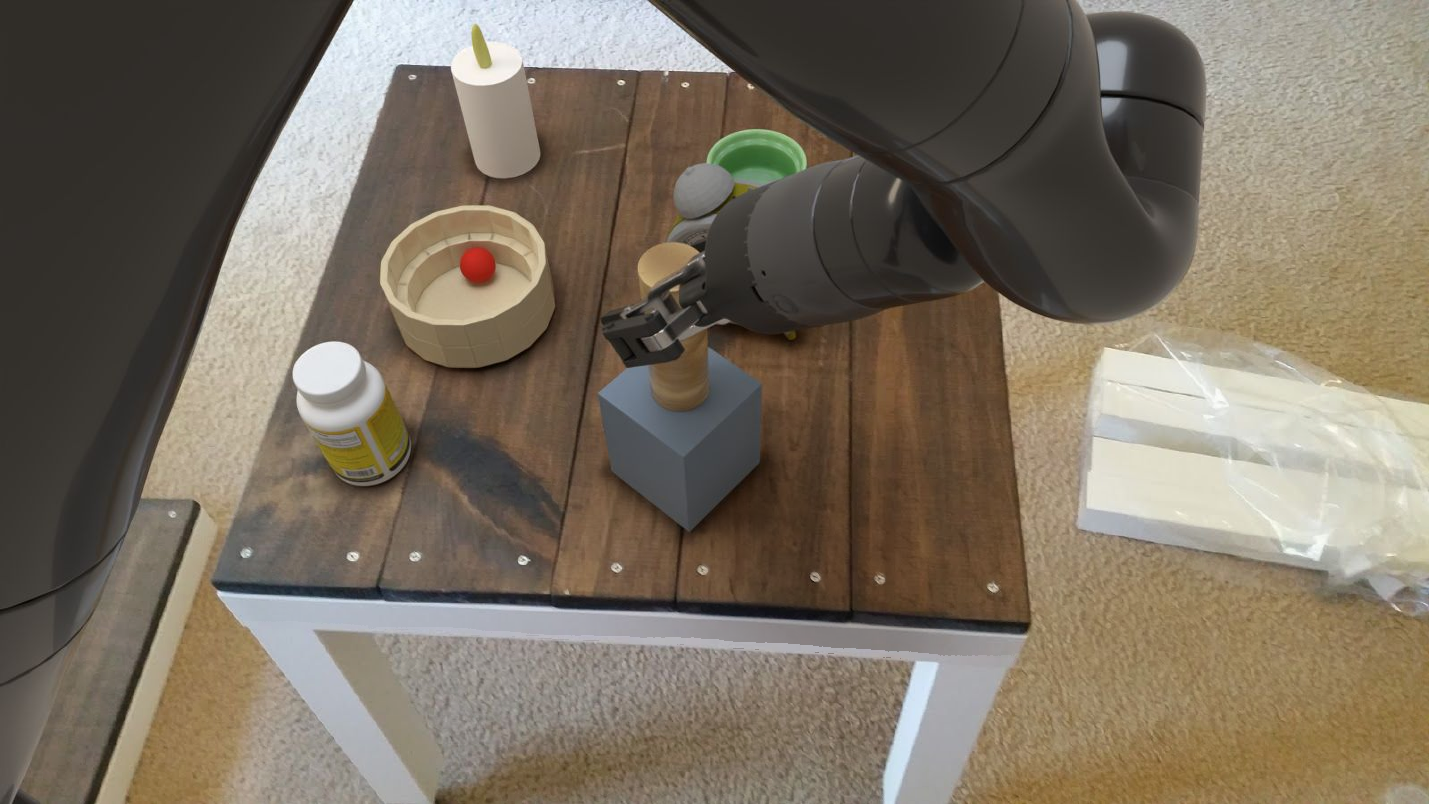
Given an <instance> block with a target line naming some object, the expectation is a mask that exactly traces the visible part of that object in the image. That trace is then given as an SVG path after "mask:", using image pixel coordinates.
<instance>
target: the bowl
mask: <svg viewBox="0 0 1429 804" xmlns="http://www.w3.org/2000/svg"><path fill="white" fill-rule="evenodd" d="M475 247H479V248H483V249H486V250H487V251H489V252H490V253H491V254H492V256H493V257H494V259H495V264H496V268H495V272H494V274H493V275H492V277H491V278H490V279H488V280H487V281H485V282H481V283H475V282H471V281H469V280H468V279H466V278H465V277H464V276H463V274H462V272H461V270H460V259H461V257H462V255H463V254H464V253H465V252H466V251H467V250H469V249H471V248H475ZM379 273H380V274H379V284H380V287H381V289H382V292H383V295H384V297H385V299H386V302H387V305H388V307H389V309H390V312H391V314H392V317H393V320H394V322H395V324H396V327H397V329H398V332H399V333H400V335H401V337H402V339H403V341H404V344H405V345H406V346H407V347H408V348H409V349H411V351H413V352H414V353H415V354H417V355H418V356H419V357H420V358H421V359H423V360H424V361H426V362H430V363H433V364H437V365H440V366H442V367H445V368H454V369H455V368H456V369H459V368H460V369H463V368H464V369H477V368H479V369H480V368H483V367H487V366H490V365H494V364H497V363H498V364H499V363H502V362H505V361H508V360H509V359H511V358H513V357H515V356H517V355H518V354H520V353H521V352H524V351H525V350H527V349H529V348H530V347H531V346H532V345H533V344H534V343H535V342H536V341H537V340H538V338H539V337H541V335H543V333H544V332H545V331H546V330H547V329H548V326H549V324H550V321H551V319H552V317H553V313H554V311H555V308H556V299H555V297H556V296H555V287H554V283H553V277H552V273H551V268H550V263H549V258H548V253H547V247H546V243H545V241H544V240H543V238H542V236H541V235H540V233H539V231H538V230H537V228H536V227H535V225H534V224H533V223H531V222H530V221H528V220H527V219H525V218H524V217H522V216H521V215H519V214H518V213H516V212H515V211H511V210H508V209H504V208H501V207H497V206H493V205H469V204H468V205H467V204H465V205H458V206H454V207H449V208H446V209H442V210H437V211H434V212H431V213H430V214H428V215H426V216H424V217H423V218H420V219H418V220H416V221H414V222H412V223H411V224H409V225H408V226H407V227H406V228H405V229H404V230H403V231H401V233H400V234H398V235H397V236H396V237H395V238H394V239H393V240H392V241H391V243H390V244H389V246H388V248H387V250H386V252H385V254H384V255H383V257H382V259H381V261H380V272H379Z"/></svg>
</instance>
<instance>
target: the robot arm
mask: <svg viewBox="0 0 1429 804" xmlns="http://www.w3.org/2000/svg"><path fill="white" fill-rule="evenodd" d="M354 1H355V0H0V804H44V803H43V802H41V801H40V800H39V799H37V798H36V797H34V796H33V795H31V794H29V793H28V792H26V791H25V790H23V789H22V788H21V787H20V786H21V785H22V782H23V780H24V779H25V776H26V774H27V771H28V769H29V767H30V764H31V762H32V760H33V757H34V755H35V753H36V750H37V748H38V745H39V743H40V741H41V738H42V736H43V733H44V731H45V729H46V727H47V725H48V722H49V719H50V716H51V713H52V711H53V709H54V705H55V703H56V700H57V698H58V695H59V692H60V691H61V687H62V685H63V683H64V680H65V678H66V675H67V673H68V670H69V668H70V666H71V663H72V660H73V658H74V656H75V654H76V651H77V650H78V647H79V644H80V642H81V640H82V638H83V636H84V633H85V631H86V629H87V627H88V625H89V623H90V621H91V619H92V617H93V616H94V613H95V612H96V610H97V608H98V605H99V604H100V602H101V600H102V597H103V594H104V591H105V588H106V585H107V583H108V581H109V579H110V576H111V573H112V572H113V569H114V566H115V564H116V561H117V559H118V556H119V554H120V551H121V549H122V546H123V544H124V541H125V539H126V536H127V534H128V531H129V529H130V527H131V523H132V522H133V520H134V518H135V515H136V513H137V510H138V507H139V504H140V501H141V499H142V495H143V491H144V488H145V486H146V482H147V478H148V476H149V472H150V468H151V466H152V463H153V460H154V457H155V453H156V451H157V448H158V445H159V442H160V439H161V437H162V435H163V432H164V430H165V427H166V424H167V422H168V420H169V418H170V415H171V412H172V410H173V407H174V406H175V405H174V404H175V403H176V400H177V397H178V394H179V392H180V389H181V387H182V384H183V382H184V379H185V377H186V373H187V371H188V370H189V369H188V368H189V365H190V363H191V361H192V357H193V355H194V352H195V351H196V348H197V344H198V341H199V339H200V335H201V332H202V329H203V327H204V324H205V320H206V318H207V315H208V312H209V309H210V306H211V303H212V299H213V296H214V292H215V289H216V286H217V282H218V279H219V276H220V272H221V269H222V267H223V264H224V261H225V258H226V256H227V253H228V249H229V247H230V245H231V241H232V239H233V236H234V233H235V230H236V228H237V225H238V223H239V220H240V219H241V216H242V214H243V212H244V210H245V207H246V205H247V203H248V201H249V199H250V196H251V194H252V192H253V190H254V187H255V185H256V183H257V181H258V180H259V178H260V175H261V174H262V171H263V170H264V167H265V165H266V164H267V162H268V160H269V157H270V156H271V154H272V152H273V150H274V148H275V146H276V144H277V142H278V140H279V139H280V136H281V134H282V132H283V131H284V129H285V128H286V125H287V123H288V122H289V119H290V117H291V116H292V114H293V113H294V110H295V109H296V106H297V105H298V103H299V101H300V99H301V98H302V96H303V93H304V92H305V91H306V88H307V87H308V86H309V83H310V81H311V79H312V78H313V75H314V74H315V72H316V70H317V69H318V67H319V65H320V63H321V62H322V60H323V58H324V56H325V54H326V53H327V50H328V49H329V47H330V45H331V43H332V42H333V40H334V38H335V36H336V35H337V32H338V30H339V29H340V27H341V25H342V23H343V22H344V20H345V18H346V16H347V14H348V13H349V11H350V9H351V7H352V6H353V4H354ZM646 1H647V2H649V4H651V5H652V6H653V7H655V8H656V9H657V10H658V11H659V12H661V13H662V15H664V16H666V18H668V19H669V20H670V21H671V22H673V23H674V24H675V25H676V26H678V27H679V28H680V29H681V30H682V31H684V33H686V34H687V35H689V37H691V38H692V39H693V40H694V41H696V42H697V43H698V44H699V45H701V46H702V47H703V48H704V49H705V50H707V51H708V52H710V53H711V55H713V56H715V58H717V59H718V60H719V61H720V62H722V63H723V64H724V65H726V66H727V67H729V69H731V70H732V71H733V72H735V74H737V75H738V76H739V77H741V78H742V79H743V80H745V82H747V83H748V84H749V85H751V86H752V87H753V88H754V89H755V90H757V91H758V92H759V93H761V94H762V95H764V96H765V97H766V98H768V99H769V100H770V101H771V102H773V103H774V104H775V105H777V106H778V107H780V108H781V109H783V110H784V111H786V112H787V113H788V114H790V115H792V116H793V117H794V118H795V119H797V120H799V121H800V122H802V123H803V124H804V125H806V126H808V127H809V128H811V129H812V130H814V131H816V132H817V133H819V134H820V135H822V136H824V137H826V138H827V139H829V140H830V141H832V142H834V143H836V144H837V145H839V146H842V147H843V148H845V149H847V150H848V151H850V152H852V153H854V154H855V156H851V157H848V158H843V159H838V160H837V159H836V160H831V161H826V162H822V163H819V164H816V165H813V166H810V167H807V168H806V169H805V170H802V171H800V172H797V173H795V174H792V175H790V176H787V177H784V178H782V179H779V180H777V181H774V182H772V183H769V184H767V185H764V186H762V187H759V188H756V189H754V190H751V191H749V192H746V193H744V194H741V195H739V196H737V197H735V198H734V199H732V200H731V201H729V202H728V203H727V204H726V205H725V206H724V207H723V208H722V209H721V210H720V211H719V213H718V214H717V215H716V217H715V219H714V220H713V222H712V224H711V226H710V229H709V232H708V235H707V237H705V238H702V239H699V240H697V241H695V242H694V243H693V244H692V245H691V247H693V248H695V249H696V250H697V251H698V252H699V254H697V255H695V256H693V257H692V258H691V259H690V261H689V262H688V263H687V264H686V266H684V267H683V268H681V269H679V270H677V271H675V272H674V273H672V274H670V275H668V276H666V277H664V278H663V279H661V280H659V281H657V282H656V283H655V284H654V285H653V287H652V288H651V289H650V290H649V291H648V293H647V297H646V298H644V299H643V300H641V299H640V300H639V301H637V302H635V303H634V304H629V305H626V306H623V307H619V308H616V309H612V310H609V311H608V312H606V313H605V314H604V315H603V316H601V317H600V322H601V325H602V326H600V330H602V332H601V334H602V335H603V336H604V338H605V340H607V341H608V342H609V344H610V345H611V346H612V348H613V349H614V351H615V352H616V353H617V355H618V356H619V358H620V359H621V361H622V362H621V363H622V364H623V365H624V366H625V369H627V368H631V367H638V366H645V365H653V364H660V363H667V362H670V361H672V360H673V361H675V360H677V359H678V358H679V357H680V356H681V354H682V353H683V352H684V351H685V348H684V347H683V345H682V344H681V342H680V341H683V340H685V339H687V338H689V337H691V336H693V335H695V334H697V333H699V332H701V331H703V330H705V329H707V330H708V329H709V328H711V327H713V326H715V325H721V326H722V325H727V324H730V323H729V322H731V321H732V322H734V323H737V324H736V325H739V326H740V327H743V328H745V329H747V330H749V331H752V332H755V333H759V334H764V335H778V334H784V333H785V332H791V331H795V332H796V331H801V330H808V329H812V328H819V327H825V326H831V325H835V324H841V323H847V322H853V321H857V320H858V321H859V320H861V319H865V318H868V317H870V316H873V315H876V314H878V313H881V312H882V311H885V310H889V309H893V308H898V307H904V306H905V307H906V306H909V305H915V304H921V303H926V302H933V301H939V300H944V299H949V298H954V297H957V296H960V295H963V294H966V293H969V292H970V291H973V290H974V289H976V288H978V287H980V286H981V285H982V284H983V283H985V284H987V285H988V286H989V287H990V288H991V289H993V290H994V291H996V292H997V293H999V294H1000V295H1001V296H1002V297H1004V298H1005V299H1007V300H1009V301H1010V302H1011V303H1013V304H1015V305H1017V306H1019V307H1020V308H1023V309H1025V310H1027V311H1029V312H1031V313H1033V314H1036V315H1039V316H1041V317H1044V318H1048V319H1051V320H1054V321H1059V322H1061V323H1069V324H1075V325H1107V324H1113V323H1120V322H1123V321H1128V320H1130V319H1133V318H1135V317H1139V316H1141V315H1143V314H1145V313H1147V312H1149V311H1150V310H1152V309H1153V308H1155V307H1157V306H1158V305H1160V304H1161V303H1163V302H1164V301H1165V300H1167V299H1168V298H1169V297H1170V296H1171V295H1172V294H1173V293H1174V292H1175V291H1176V290H1177V288H1178V287H1180V285H1181V284H1182V282H1183V280H1184V279H1185V277H1186V275H1187V274H1188V273H1189V270H1190V267H1191V265H1192V262H1193V260H1194V256H1195V252H1196V247H1197V241H1198V230H1199V215H1200V206H1199V205H1200V196H1201V194H1200V193H1201V180H1202V168H1203V167H1202V165H1203V151H1204V138H1205V137H1204V131H1205V123H1206V122H1205V121H1206V109H1207V87H1208V86H1207V77H1206V76H1207V75H1206V68H1205V64H1204V60H1203V59H1202V57H1201V54H1200V52H1199V49H1198V47H1197V46H1196V44H1195V43H1194V41H1193V40H1192V39H1191V38H1190V37H1188V35H1187V34H1186V33H1185V32H1184V31H1183V30H1182V29H1180V28H1179V27H1177V26H1176V25H1174V24H1172V23H1171V22H1168V21H1166V20H1164V19H1161V18H1160V17H1156V16H1153V15H1149V14H1146V13H1145V14H1144V13H1140V12H1134V11H1126V10H1125V11H1124V10H1123V11H1122V10H1115V11H1114V10H1113V11H1102V12H1091V13H1085V11H1084V10H1083V8H1082V6H1081V5H1080V4H1079V2H1078V1H1077V0H646ZM679 284H680V285H679ZM678 285H679V304H680V306H681V307H682V308H680V306H679V305H678V303H677V302H676V300H675V299H674V297H673V296H672V294H671V293H670V289H672V288H674V287H676V286H678ZM650 309H653V310H652V311H650V312H649V313H648V314H645V313H644V312H646V311H648V310H650Z"/></svg>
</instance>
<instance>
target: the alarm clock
mask: <svg viewBox="0 0 1429 804" xmlns="http://www.w3.org/2000/svg"><path fill="white" fill-rule="evenodd" d="M774 181H777V180H772V181H770V182H767V183H765V184H761V183H757V182H754V181H749V180H742V179H733V178H732V176H731V174H730V173H729V172H728V171H726V170H725V169H724V168H722V167H720V166H718V165H716V164H710V163H707V162H703V163H697V164H696V163H695V164H694V165H692V166H688V167H687V168H686V169H685V170H684V171H683V172H682V173H681V174H680V176H679V177H678V178H677V180H676V182H675V185H674V188H673V189H674V190H673V196H672V197H673V204H674V207H675V209H676V211H677V213H678V215H677V217H676V219H675V220H674V223H673V224H672V227H671V228H670V230H669V232H668V234H667V237H666V240H665V243H668V242H677V243H683V244H687V245H689V246H691V245H692V244H693V243H694V242H695V241H697V240H699V239H702V238H705V237H707V235H708V232H709V229H710V226H711V224H712V222H713V220H714V219H715V217H716V215H717V214H718V213H719V211H720V210H721V209H722V208H723V207H724V206H725V205H726V204H727V203H728V202H729V201H731V200H732V199H734V198H735V197H737V196H739V195H741V194H744V193H746V192H749V191H751V190H754V189H756V188H759V187H762V186H764V185H767V184H769V183H772V182H774ZM728 324H734V325H738V324H737V323H734V322H732V321H731V322H729V323H728ZM783 335H784V336H785V337H786V338H787V340H789V341H792V340H794V339H795V338H797V335H796V331H791V332H785V333H783Z"/></svg>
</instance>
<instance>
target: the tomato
mask: <svg viewBox="0 0 1429 804" xmlns="http://www.w3.org/2000/svg"><path fill="white" fill-rule="evenodd" d="M495 268H496V264H495V259H494V257H493V256H492V254H491V253H490V252H489V251H487V250H486V249H483V248H479V247H475V248H471V249H469V250H467V251H466V252H465V253H464V254H463V255H462V257H461V259H460V270H461V272H462V274H463V276H464V277H465V278H466V279H468V280H469V281H471V282H475V283H481V282H485V281H487V280H488V279H490V278H491V277H492V275H493V274H494V272H495Z"/></svg>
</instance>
